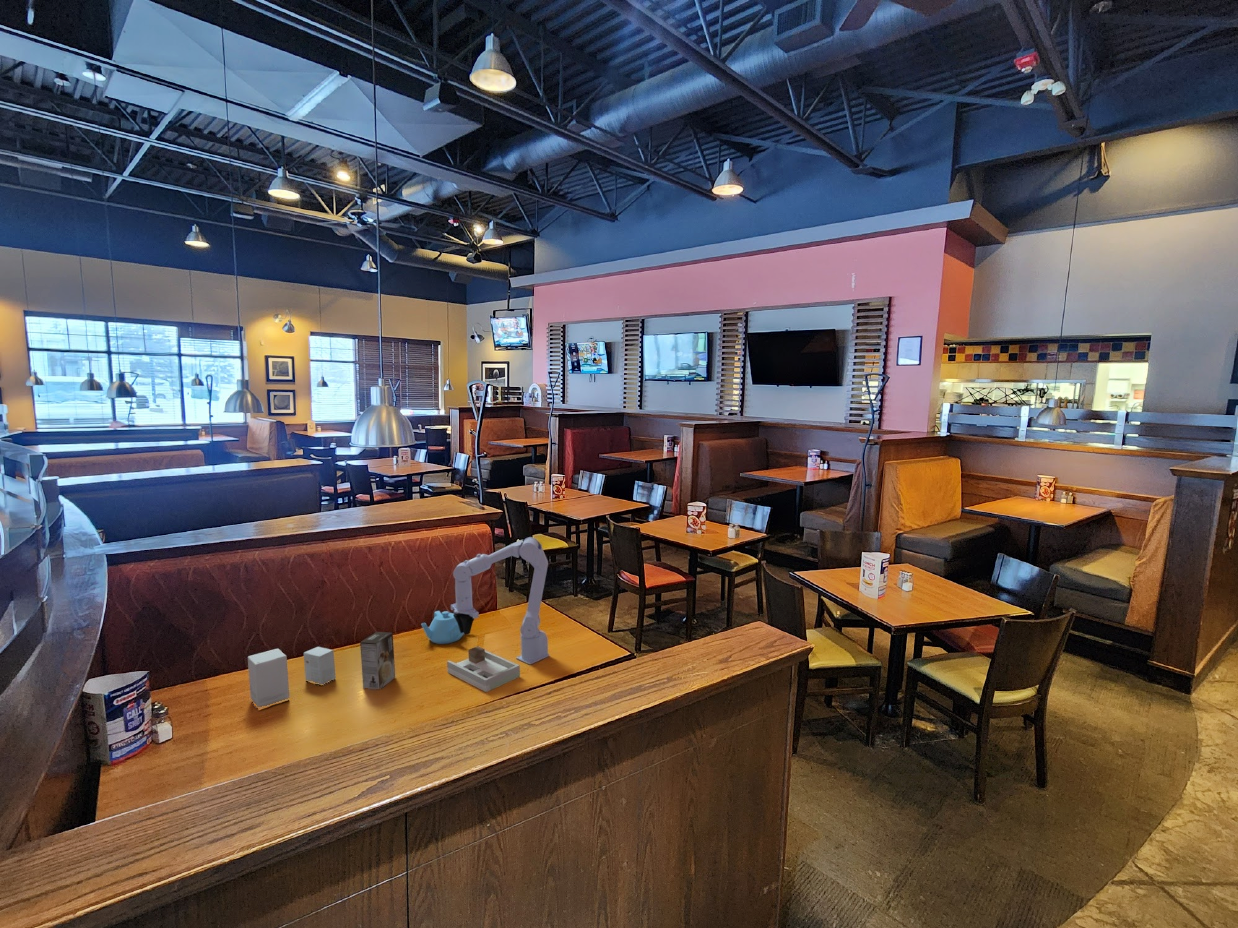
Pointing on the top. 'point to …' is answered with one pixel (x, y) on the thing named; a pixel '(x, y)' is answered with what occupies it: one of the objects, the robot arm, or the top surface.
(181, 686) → the top surface
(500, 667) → the tray
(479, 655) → the walnut block
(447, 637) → the teapot
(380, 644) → the coffee box
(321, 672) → the small box
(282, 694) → the supplement box
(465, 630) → the robot arm
